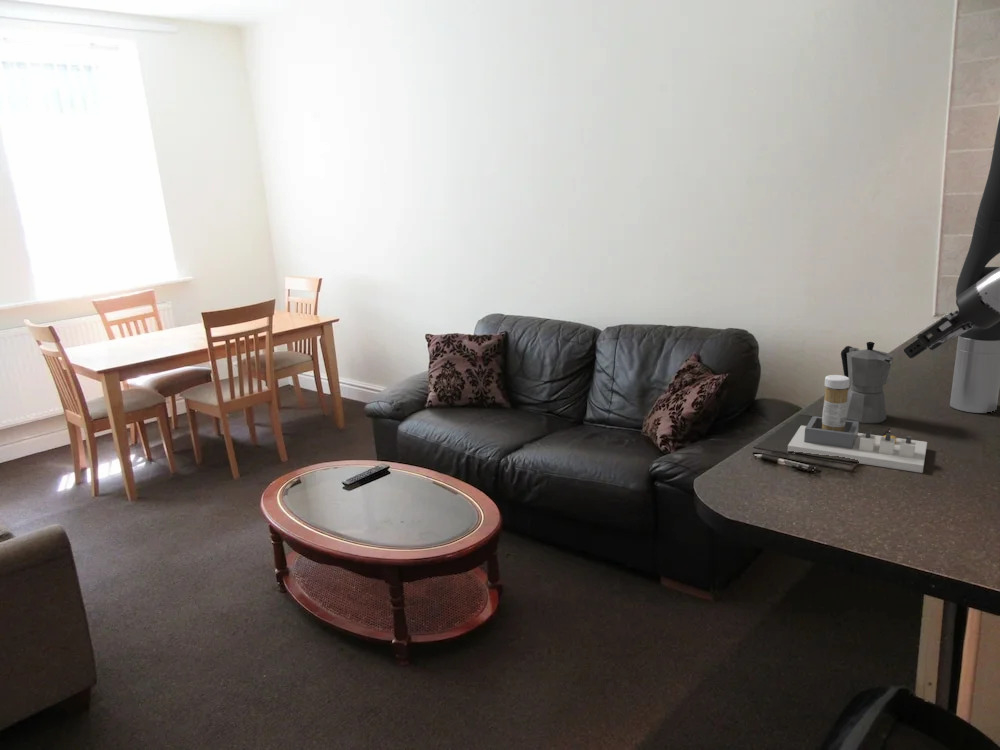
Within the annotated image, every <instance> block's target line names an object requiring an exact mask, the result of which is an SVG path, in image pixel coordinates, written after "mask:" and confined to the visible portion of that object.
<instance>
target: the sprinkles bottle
mask: <svg viewBox="0 0 1000 750" xmlns="http://www.w3.org/2000/svg"><path fill="white" fill-rule="evenodd" d="M850 385H851V382H850V379H849V378H848V377H846V376H844V375H840V374H830V375H826V376H825V379H824V388H825V389H824V399H823V408H822V416H821V417H822V429H825V430H833V431H840V432H844V428H845V422H846V420H847V419H846V412H847V395H848V390H849V389H850Z"/></svg>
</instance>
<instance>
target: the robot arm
mask: <svg viewBox="0 0 1000 750" xmlns="http://www.w3.org/2000/svg"><path fill="white" fill-rule="evenodd" d="M992 149H993V150H992V157H991V162H990V168H989V171H988V175H987V179H986V183H985V187H984V190H983V193H982V196H981V200H980V203H979V206H978V209H977V215H976V217H975V223H974V227H973V233H972V237H971V241H970V245H969V249H968V251H967V254H966V257H965V260H964V261H963V264H962V268H961V269H960V270H961V271H960V274H959V276H958V280H957V284H956V289H955V298H956V299H955V304H956V307H957V308H958V310H956V311H954V312H949V313H947V314H946V315H945V316H944V317H942V318H941V320H939V321H938V322H937V321H936V322H935V323H934V324H933V325H931V326H930V327H929V328H928V329H926V330H925V331H922V333H919V334H918V335H917V336H916V338H917V339H916V340H914V341H913V342H912V343H911V344H909V345H908V346H906V347H905V348H904V349H903V351H904V354H905V355H906V356H907V357H908V358H909V359H914V358H915V357H917V356H919V355H920V354H921V353H922V352H924V351H926V350H927V349H929V350H930V351H935V350H936V349H937V348H939V347H940V346H941V345H943V344H944V343H947V341H949V340H954V339H955V338H957V337H958V338H957V343H956V344H957V345H956V353H955V361H954V362H955V363H954V367H953V368H954V369H953V377H952V386H951V392H950V393H951V394H950V402H949V406H950V407H951V408H952V409H955V410H958V411H961V412H965V413H966V412H967V413H973V414H974V413H975V414H988V413H987V412H991V413H993V412H992V411H994V412H996V411H997V408H998V407H997V406H998V400H999V394H1000V266H987V265H988V264H989V262H990V261H991V260H993V259H994V258H995V257H996V256H998V255H999V254H1000V116H999V118H998V123H997V127H996V132H995V139H994V145H993V148H992ZM930 335H932V336H930ZM928 336H930V337H928ZM995 410H996V411H995Z"/></svg>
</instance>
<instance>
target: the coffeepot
mask: <svg viewBox="0 0 1000 750" xmlns="http://www.w3.org/2000/svg"><path fill="white" fill-rule="evenodd" d="M874 347H875V342H873V341H867V342H866V348H865V349H860V348H858V347H854V346H850V345H845V347H844V348H843V349H842V350H841V352H840V358H841V363H842V371H843V376H846V377H848V378H849V379H850V385H849V389H848V395H847V412H846V420H850V421H858V422H859V424H861V423H862V424H879V423H882V422H884V421H885V420H887V413H886V411H887V410H886V409H887V408H886V402H885V401H886V400H885V393H884V391H883V389H884V385H886V383H887V381H888V376H889V373H890V369H891V366H892V365H893V364H894V363H893V362H894V361H893V359H894V356H893V355H892V354H889V353H888V352H886V351H885V352H884V351H880V350H876V349H874Z"/></svg>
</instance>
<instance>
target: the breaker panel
mask: <svg viewBox="0 0 1000 750" xmlns="http://www.w3.org/2000/svg"><path fill="white" fill-rule="evenodd" d="M859 426H860V423H859V422H858V421H850V420H848V419H846V422H845V428H844V432H840V431H833V430H825V429H822V416H817V415H816V416H815V415H812V417H811V418H810V420H809V422H808V423H807V425H802V424H801V425H800V427H799V428H798V429H797V431H796V432H795V434H794V435H793V437H792V438H791V440H790V441H789V443H788V444H787V451H794V452H803V453H811V454H819V455H829V456H839V457H845V458H850V459H855V460H858V461H859V463H858V464H862V465H868V466H875V467H881V468H887V469H893V470H899V471H900V470H901V471H908V472H913V473H921V474H924V473H923V472H924V467H925V466H924V465H925V460H926V459H925V458H926V453H927V446H928V442H927V441H922V440H915V439H912V436H910V435H906V437H905V438H900V437H897V436H896V435H892V433H889V432H886V433H885V435H877V434H876V435H875V434H871V433H872V431H871V430H866V431H865V433H861V432H859Z"/></svg>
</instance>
